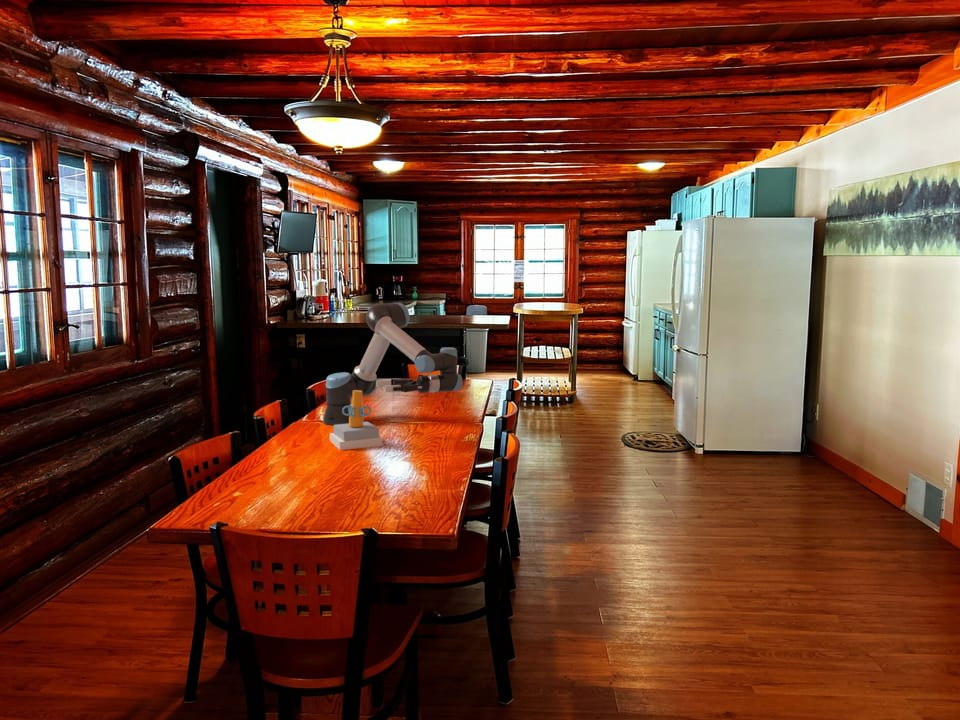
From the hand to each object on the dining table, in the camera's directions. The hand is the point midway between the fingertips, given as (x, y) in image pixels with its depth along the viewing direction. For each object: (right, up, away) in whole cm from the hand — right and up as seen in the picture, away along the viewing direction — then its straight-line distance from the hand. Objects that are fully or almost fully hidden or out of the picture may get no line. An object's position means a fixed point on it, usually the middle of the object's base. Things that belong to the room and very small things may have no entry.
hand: (380, 386), depth 308 cm
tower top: (-10, -21, -3) cm, 23 cm away
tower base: (-10, -25, -2) cm, 27 cm away
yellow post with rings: (-10, -17, -3) cm, 20 cm away
